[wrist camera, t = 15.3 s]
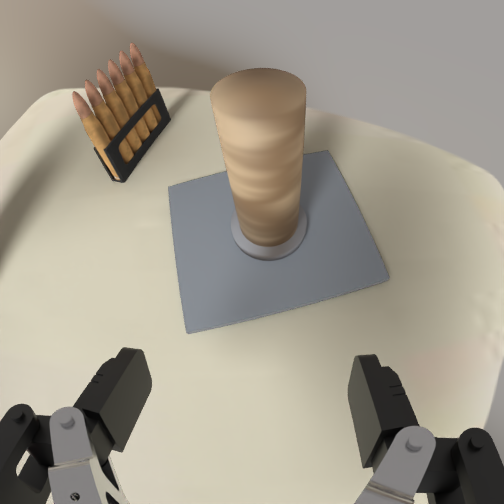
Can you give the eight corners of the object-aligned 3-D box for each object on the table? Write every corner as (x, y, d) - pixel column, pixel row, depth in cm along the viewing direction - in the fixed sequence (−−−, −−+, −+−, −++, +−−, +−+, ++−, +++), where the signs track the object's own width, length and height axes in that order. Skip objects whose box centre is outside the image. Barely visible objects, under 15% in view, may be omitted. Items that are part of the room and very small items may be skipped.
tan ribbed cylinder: (240, 269, 23) (203, 140, 11) (226, 207, 25) (191, 76, 14) (315, 250, 23) (342, 114, 11) (293, 191, 26) (295, 57, 14)
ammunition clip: (124, 183, 29) (72, 97, 18) (112, 181, 29) (60, 99, 19) (171, 119, 33) (143, 37, 22) (159, 118, 34) (130, 39, 23)
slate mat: (188, 333, 21) (186, 332, 21) (169, 190, 28) (168, 186, 27) (387, 280, 22) (389, 277, 21) (327, 154, 28) (327, 150, 28)
